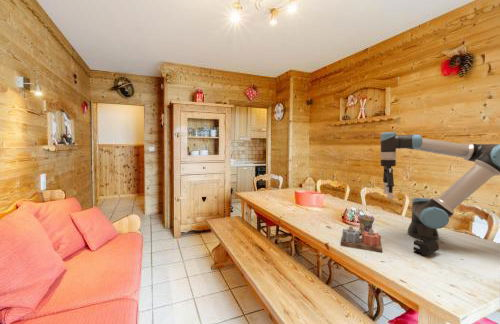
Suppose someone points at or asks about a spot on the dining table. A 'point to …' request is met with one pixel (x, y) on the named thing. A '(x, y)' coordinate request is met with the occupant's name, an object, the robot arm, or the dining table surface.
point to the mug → (365, 223)
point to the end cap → (425, 246)
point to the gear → (351, 236)
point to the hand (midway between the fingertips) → (388, 195)
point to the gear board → (361, 243)
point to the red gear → (371, 239)
